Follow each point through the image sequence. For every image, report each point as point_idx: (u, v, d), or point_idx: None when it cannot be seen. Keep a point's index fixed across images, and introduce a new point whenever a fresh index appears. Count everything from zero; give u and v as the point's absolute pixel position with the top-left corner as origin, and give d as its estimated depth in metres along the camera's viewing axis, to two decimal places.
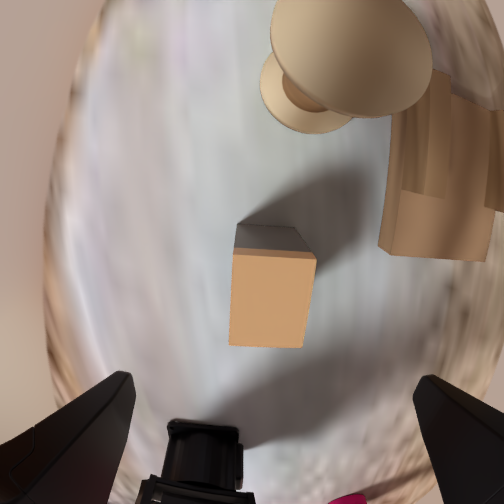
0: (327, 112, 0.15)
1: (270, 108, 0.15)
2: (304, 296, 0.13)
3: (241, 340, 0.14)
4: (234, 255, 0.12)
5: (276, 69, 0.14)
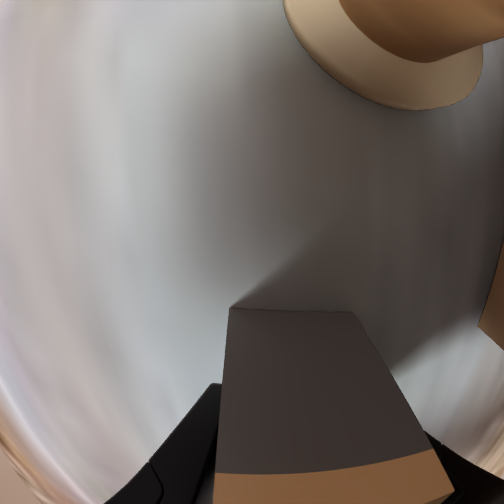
0: (434, 65, 0.05)
1: (312, 37, 0.05)
2: None
3: None
4: None
5: None
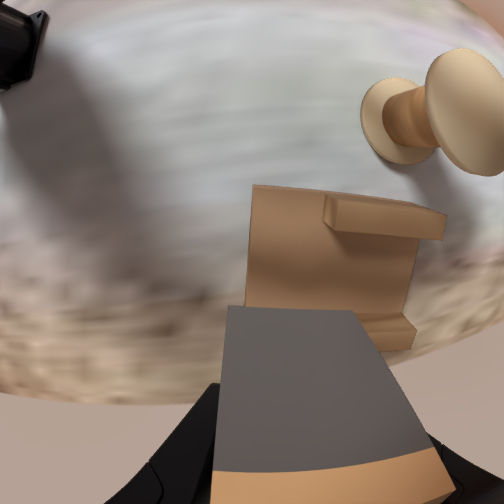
0: (383, 128, 0.16)
1: (382, 81, 0.15)
2: None
3: None
4: None
5: None
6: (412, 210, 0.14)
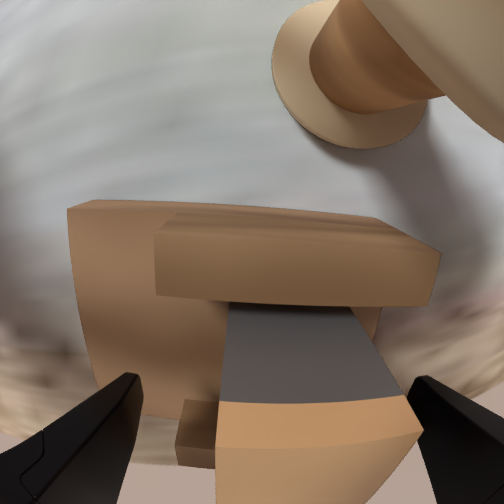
0: (311, 81, 0.09)
1: (309, 5, 0.08)
2: (375, 481, 0.04)
3: None
4: (219, 446, 0.04)
5: None
6: (353, 247, 0.06)
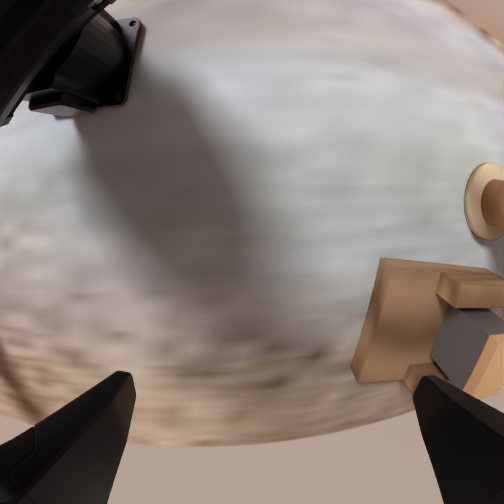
0: (480, 210, 0.17)
1: (484, 167, 0.16)
2: None
3: (475, 397, 0.13)
4: (498, 343, 0.12)
5: (502, 177, 0.16)
6: (501, 287, 0.15)
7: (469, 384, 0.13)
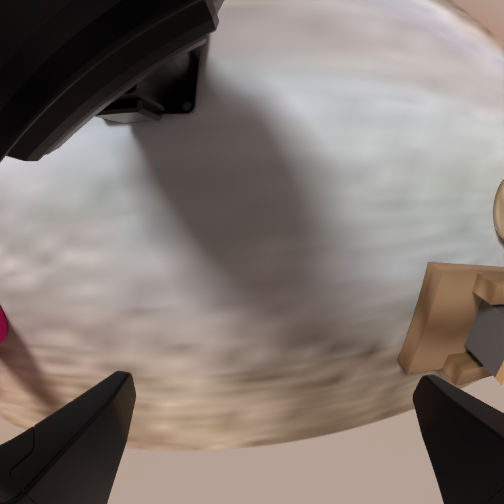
0: None
1: None
2: None
3: None
4: None
5: None
6: None
7: (502, 369, 0.15)
